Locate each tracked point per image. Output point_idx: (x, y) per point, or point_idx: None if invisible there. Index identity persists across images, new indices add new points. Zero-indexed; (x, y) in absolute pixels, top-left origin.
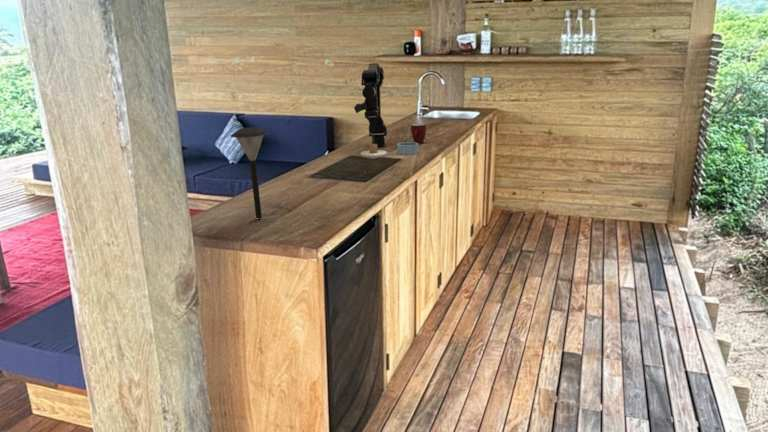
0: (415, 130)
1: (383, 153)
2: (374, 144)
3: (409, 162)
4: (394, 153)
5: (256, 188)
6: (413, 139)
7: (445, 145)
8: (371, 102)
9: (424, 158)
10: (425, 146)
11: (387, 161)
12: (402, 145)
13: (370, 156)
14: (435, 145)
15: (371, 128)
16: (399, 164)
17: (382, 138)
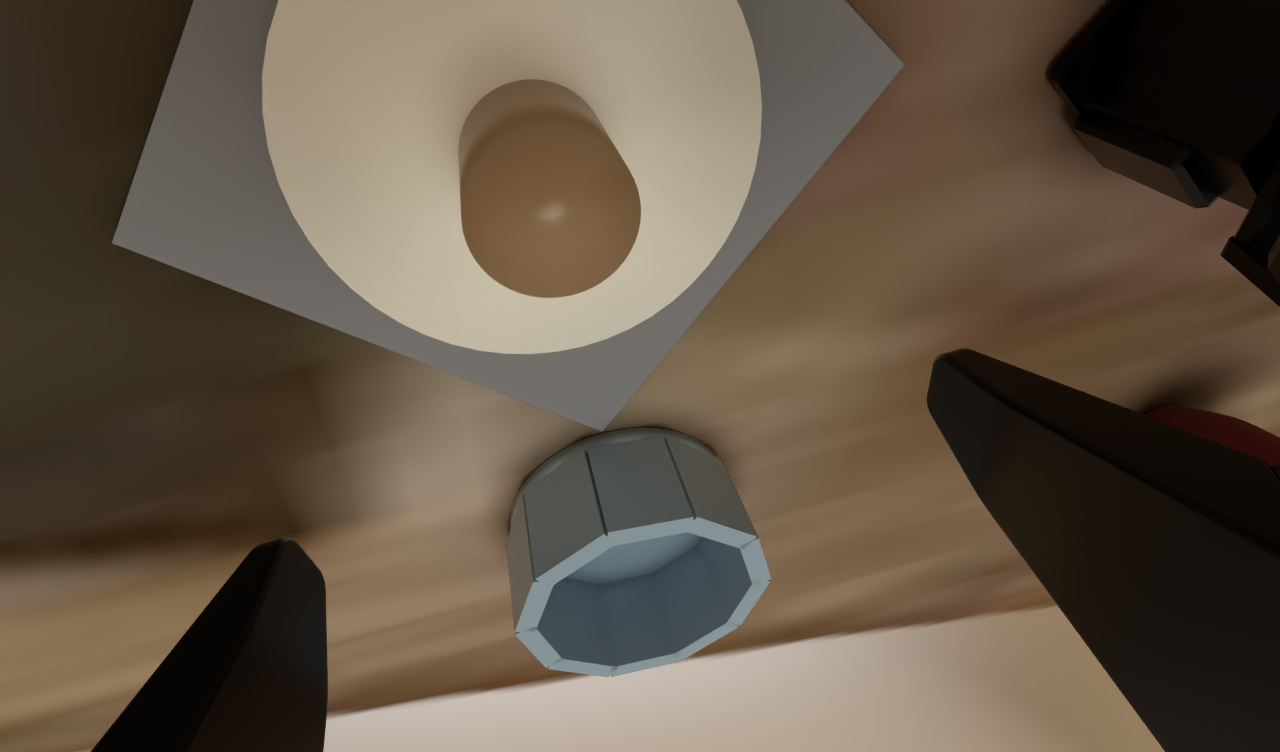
0: None
1: (467, 337)
2: (551, 249)
3: (172, 644)
4: (586, 416)
5: None
6: (1187, 426)
7: (944, 609)
8: None
9: (414, 667)
10: (963, 517)
11: (115, 460)
12: (541, 598)
13: (277, 160)
14: (974, 561)
15: (214, 637)
16: (3, 614)
17: (1218, 182)
